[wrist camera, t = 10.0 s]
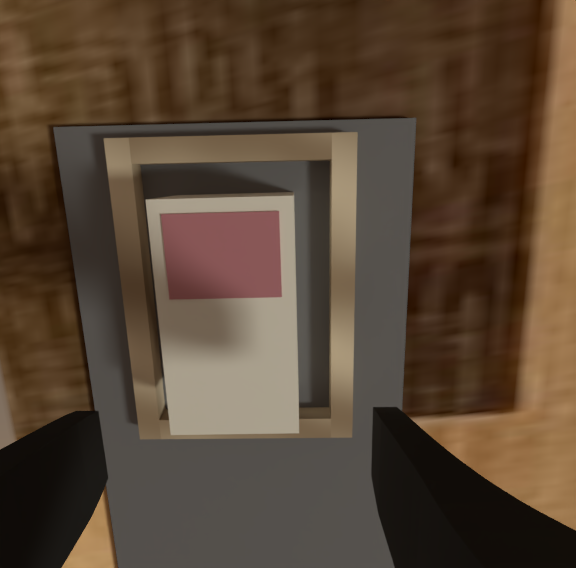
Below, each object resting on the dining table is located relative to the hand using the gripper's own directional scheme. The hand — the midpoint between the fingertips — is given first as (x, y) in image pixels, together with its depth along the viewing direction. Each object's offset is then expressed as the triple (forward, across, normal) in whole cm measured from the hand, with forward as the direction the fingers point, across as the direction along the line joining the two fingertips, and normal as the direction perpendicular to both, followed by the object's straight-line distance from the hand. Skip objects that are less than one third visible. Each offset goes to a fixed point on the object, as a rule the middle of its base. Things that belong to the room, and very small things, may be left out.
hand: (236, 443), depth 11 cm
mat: (+9, +1, +4) cm, 10 cm away
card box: (+9, +1, -2) cm, 9 cm away
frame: (+9, +1, -2) cm, 9 cm away
